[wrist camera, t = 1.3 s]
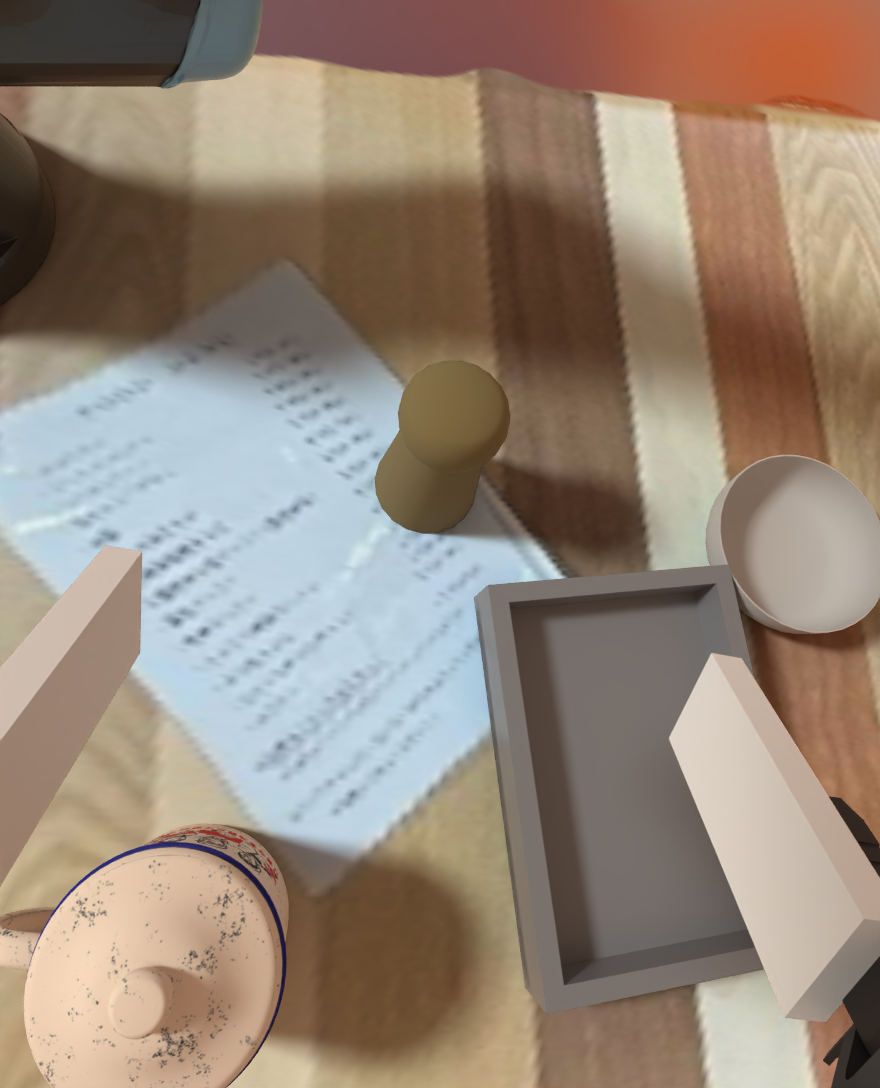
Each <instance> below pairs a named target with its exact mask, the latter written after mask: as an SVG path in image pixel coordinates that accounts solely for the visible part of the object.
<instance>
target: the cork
mask: <svg viewBox="0 0 880 1088" xmlns="http://www.w3.org/2000/svg"><path fill="white" fill-rule="evenodd" d="M398 417H399V429H400V431H399V432H398V434H397V436H396V437H395V439H394V440H393V442H392V444H391V445H390V447H389V448H388V450H387V452H386V453H385V455H384V456H383V458H382V460H381V461H380V463H379V465H378V469H377V473H376V476H375V486H376V495H377V497H378V500H379V502H380V504H381V507H382V509H383V510H384V511H385V512H386V513H387V514H388V516H389V517H390V518H391V519H392V520H393V521H394V522H396V523H398V524H399V525H401V526H402V527H404V528H406V529H408V530H412V531H416V532H420V533H438V532H441V531H444V530H446V529H449V528H452V527H454V526H455V525H456V524H457V523H459V522H460V521H461V520H462V519H463V518H465V516H466V515H467V513H468V512H469V510H470V508H471V507H472V505H473V501H474V497H475V493H476V489H477V485H478V481H479V477H480V472H481V468H482V465H484V464H485V463H486V462H487V461H489V460H490V459H491V458H492V457H494V456H495V455H496V453H497V452H498V450H499V449H500V447H501V445H502V444H503V442H504V441H505V439H506V437H507V433H508V428H509V423H510V411H509V403H508V399H507V397H506V395H505V393H504V391H503V389H502V387H501V385H500V384H499V383H498V382H497V381H496V380H495V379H494V378H493V377H492V376H491V374H489V373H488V372H486V371H485V370H483V369H482V368H480V367H478V366H477V365H474V364H470V363H467V362H463V361H442V362H439V363H436V364H433V365H429V366H428V367H426V368H425V369H423V370H422V371H421V372H419V373H418V374H416V375H415V376H414V378H413V379H412V380H411V381H410V383H409V384H408V386H407V387H406V389H405V390H404V392H403V395H402V399H401V403H400V406H399V411H398Z"/></svg>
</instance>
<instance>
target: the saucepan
mask: <svg viewBox="0 0 880 1088" xmlns="http://www.w3.org/2000/svg"><path fill="white" fill-rule="evenodd" d="M706 550H707V557H708V561H709V564H710V566H716V565H727V564H729V567H730V571H731V576H732V580H733V585H734V589H735V594H736V598H737V602H738V607H739V609H740V610H741V611H742V612H743V613H745V614H746V615H747V616H749V617H751V618H752V619H754V620H756V621H757V622H759V623H761V624H763V625H765V626H767V627H770V628H772V629H775V630H778V631H781V632H787V633H792V634H819V633H829V632H834V631H838V630H842V629H845V628H847V627H849V626H852V625H854V624H856V623H857V622H858V621H860V620H861V619H862V618H864V617H865V616H866V615H867V614H868V613H869V612H870V611H871V610H872V609H873V607H874V606H875V605H876V603H877V601H878V600H879V598H880V520H879V518H878V516H877V514H876V512H875V510H874V508H873V507H872V505H871V504H870V502H869V501H868V499H867V498H866V497H865V495H864V494H863V493H862V492H861V491H860V489H859V488H858V487H857V486H856V485H855V484H854V483H853V482H852V481H851V480H849V479H848V478H847V477H846V476H844V475H843V474H842V473H841V472H839V471H838V470H836V469H834V468H832V467H831V466H829V465H827V464H825V463H823V462H820V461H818V460H815V459H813V458H808V457H804V456H799V455H778V456H771V457H768V458H765V459H762V460H759V461H757V462H755V463H753V464H752V465H750V466H748V467H747V468H745V469H744V470H743V471H742V472H740V473H739V474H738V475H737V476H736V477H734V478H733V479H732V480H731V481H730V482H729V483H728V484H727V485H726V486H725V487H724V488H723V489H722V491H721V492H720V494H719V495H718V496H717V498H716V500H715V502H714V504H713V506H712V509H711V511H710V515H709V519H708V524H707V528H706Z"/></svg>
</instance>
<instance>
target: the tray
mask: <svg viewBox="0 0 880 1088" xmlns="http://www.w3.org/2000/svg"><path fill="white" fill-rule="evenodd" d="M474 601H475V608H476V616H477V623H478V631H479V639H480V646H481V654H482V661H483V669H484V677H485V684H486V692H487V700H488V707H489V715H490V722H491V730H492V738H493V745H494V753H495V760H496V768H497V776H498V783H499V791H500V798H501V806H502V814H503V821H504V829H505V836H506V844H507V852H508V859H509V867H510V875H511V882H512V890H513V897H514V905H515V913H516V920H517V928H518V935H519V943H520V951H521V958H522V966H523V973H524V981H525V988H526V989H527V990H528V992H529V993H530V994H531V995H532V997H533V998H534V999H535V1000H536V1002H537V1003H538V1004H539V1005H540V1007H541V1008H542V1009H543V1010H544V1011H545V1013H546V1014H550V1013H555V1012H560V1011H565V1010H570V1009H574V1008H579V1007H584V1006H589V1005H594V1004H599V1003H603V1002H608V1001H613V1000H618V999H623V998H627V997H632V996H637V995H642V994H647V993H652V992H656V991H661V990H666V989H671V988H676V987H680V986H685V985H690V984H695V983H700V982H705V981H709V980H714V979H719V978H724V977H729V976H733V975H738V974H743V973H748V972H753V971H758V970H762V969H764V967H763V965H762V962H761V960H760V957H759V955H758V953H757V950H756V948H755V945H754V943H753V941H752V938H751V936H750V933H749V931H748V929H747V926H746V924H745V921H744V919H743V916H742V914H741V912H740V909H739V907H738V904H737V902H736V900H735V897H734V895H733V892H732V890H731V887H730V885H729V883H728V880H727V878H726V875H725V873H724V871H723V868H722V866H721V863H720V861H719V859H718V856H717V854H716V851H715V849H714V846H713V844H712V842H711V839H710V837H709V834H708V832H707V830H706V827H705V825H704V822H703V820H702V818H701V815H700V813H699V810H698V808H697V805H696V803H695V801H694V798H693V796H692V793H691V791H690V789H689V786H688V784H687V781H686V779H685V776H684V774H683V772H682V769H681V767H680V764H679V762H678V760H677V757H676V755H675V752H674V750H673V748H672V745H671V743H670V740H669V737H670V735H671V733H672V731H673V729H674V727H675V725H676V723H677V721H678V719H679V717H680V715H681V713H682V711H683V709H684V707H685V705H686V703H687V701H688V699H689V697H690V695H691V693H692V691H693V689H694V687H695V685H696V683H697V681H698V679H699V677H700V675H701V673H702V671H703V669H704V667H705V665H706V663H707V661H708V659H709V657H710V655H711V653H715V654H720V655H726V656H732V657H737V658H742V660H743V661H744V663H745V665H746V666H747V668H748V669H749V671H750V673H751V674H752V676H753V677H754V674H753V670H752V665H751V661H750V656H749V652H748V647H747V643H746V638H745V634H744V629H743V625H742V620H741V616H740V611H739V607H738V602H737V598H736V594H735V589H734V585H733V580H732V576H731V571H730V567H729V564H727V565H716V566H704V567H693V568H681V569H669V570H658V571H646V572H635V573H623V574H612V575H600V576H588V577H577V578H565V579H554V580H542V581H530V582H519V583H507V584H496V585H488V586H486V587H485V588H484V589H483V590H482V591H481V592H480V593H479V594H478V595H476V596H475V597H474ZM754 679H755V678H754Z"/></svg>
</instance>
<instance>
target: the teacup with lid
mask: <svg viewBox="0 0 880 1088" xmlns="http://www.w3.org/2000/svg"><path fill="white" fill-rule="evenodd" d="M288 922H289V901H288V894H287V889H286V885H285V882H284V879H283V876H282V874H281V872H280V869H279V867H278V865H277V864H276V862H275V861H274V859H273V858H272V856H271V855H270V854H269V852H268V851H267V850H266V849H265V848H264V847H263V846H262V845H261V844H260V843H259V842H257V841H256V840H255V839H253V838H252V837H250V836H249V835H247V834H245V833H243V832H241V831H239V830H237V829H234V828H231V827H227V826H223V825H217V824H195V825H188V826H184V827H180V828H177V829H174V830H171V831H169V832H167V833H165V834H163V835H161V836H159V837H157V838H155V839H154V840H152V841H150V842H149V843H147V844H146V845H144V846H142V847H138V848H135V849H132V850H130V851H127V852H124V853H122V854H120V855H118V856H116V857H114V858H112V859H110V860H108V861H107V862H105V863H103V864H102V865H100V866H99V867H97V868H96V869H94V870H93V871H91V872H90V873H89V874H88V875H86V876H85V877H84V878H83V879H82V880H80V881H79V882H78V883H77V884H76V885H75V886H74V887H73V888H72V889H71V890H70V891H69V892H68V894H67V895H66V896H65V897H64V898H63V899H62V901H61V902H60V903H59V905H58V906H57V907H42V908H32V909H25V910H20V911H15V912H11V913H7V914H4V915H1V916H0V967H3V968H10V969H19V970H28V973H27V977H26V985H25V994H24V1019H25V1028H26V1033H27V1039H28V1042H29V1045H30V1049H31V1052H32V1054H33V1057H34V1059H35V1062H36V1064H37V1066H38V1067H39V1069H40V1071H41V1073H42V1075H43V1076H44V1077H45V1079H46V1080H47V1082H48V1083H49V1084H50V1086H51V1087H52V1088H226V1087H228V1086H229V1085H230V1084H231V1083H232V1082H233V1081H234V1080H235V1079H236V1078H237V1077H238V1076H239V1075H240V1074H241V1073H242V1072H243V1071H244V1070H245V1068H246V1067H247V1066H248V1065H249V1064H250V1063H251V1061H252V1060H253V1058H254V1057H255V1056H256V1054H257V1053H258V1051H259V1050H260V1048H261V1046H262V1045H263V1043H264V1041H265V1040H266V1038H267V1036H268V1034H269V1032H270V1030H271V1028H272V1026H273V1023H274V1021H275V1018H276V1016H277V1013H278V1010H279V1006H280V1003H281V1000H282V995H283V990H284V985H285V976H286V945H285V942H286V936H287V930H288Z"/></svg>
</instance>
